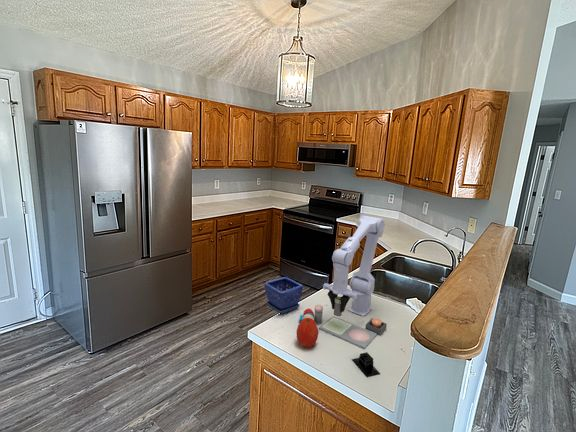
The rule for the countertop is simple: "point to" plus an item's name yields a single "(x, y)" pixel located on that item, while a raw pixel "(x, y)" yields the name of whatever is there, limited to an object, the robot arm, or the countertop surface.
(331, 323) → the picture board
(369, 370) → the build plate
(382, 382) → the countertop surface
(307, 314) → the toy figure
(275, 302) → the flower pot
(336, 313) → the sage marker
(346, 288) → the robot arm
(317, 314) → the rose marker
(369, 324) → the button housing
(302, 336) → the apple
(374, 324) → the button
